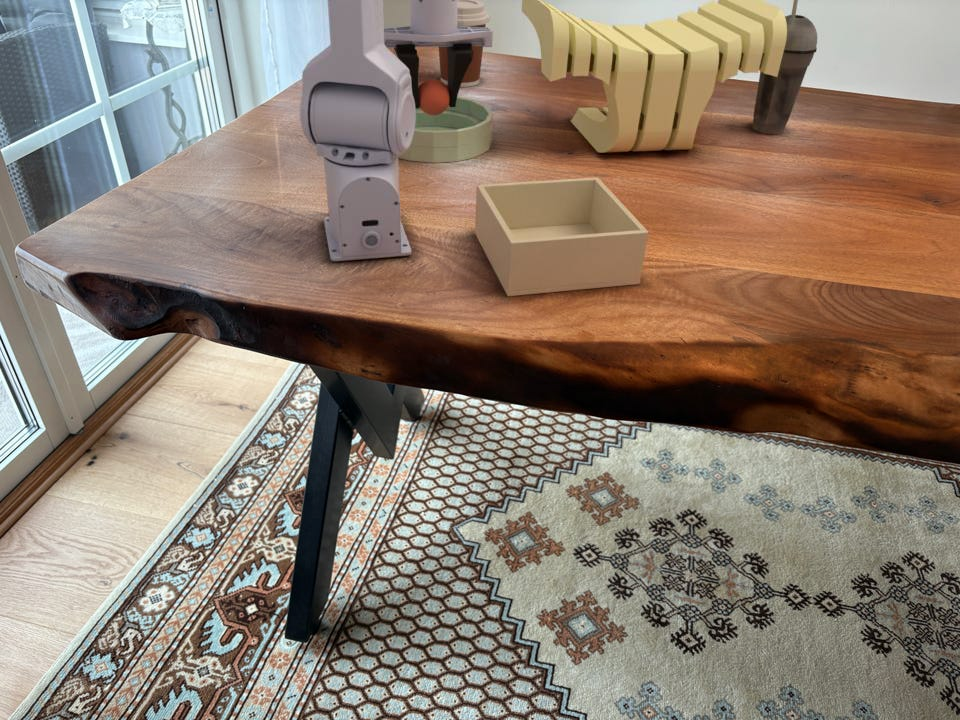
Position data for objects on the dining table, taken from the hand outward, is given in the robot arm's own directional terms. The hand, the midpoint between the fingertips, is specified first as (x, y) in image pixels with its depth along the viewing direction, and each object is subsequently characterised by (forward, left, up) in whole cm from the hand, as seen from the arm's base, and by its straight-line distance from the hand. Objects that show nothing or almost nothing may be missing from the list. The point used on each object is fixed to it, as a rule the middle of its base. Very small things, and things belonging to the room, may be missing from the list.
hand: (433, 105), depth 99 cm
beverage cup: (0, -50, -6) cm, 50 cm away
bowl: (0, 0, -5) cm, 5 cm away
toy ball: (0, 0, -1) cm, 1 cm away
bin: (-33, -6, -5) cm, 34 cm away
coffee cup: (+29, -10, -6) cm, 31 cm away
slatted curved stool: (-1, -28, -6) cm, 29 cm away
